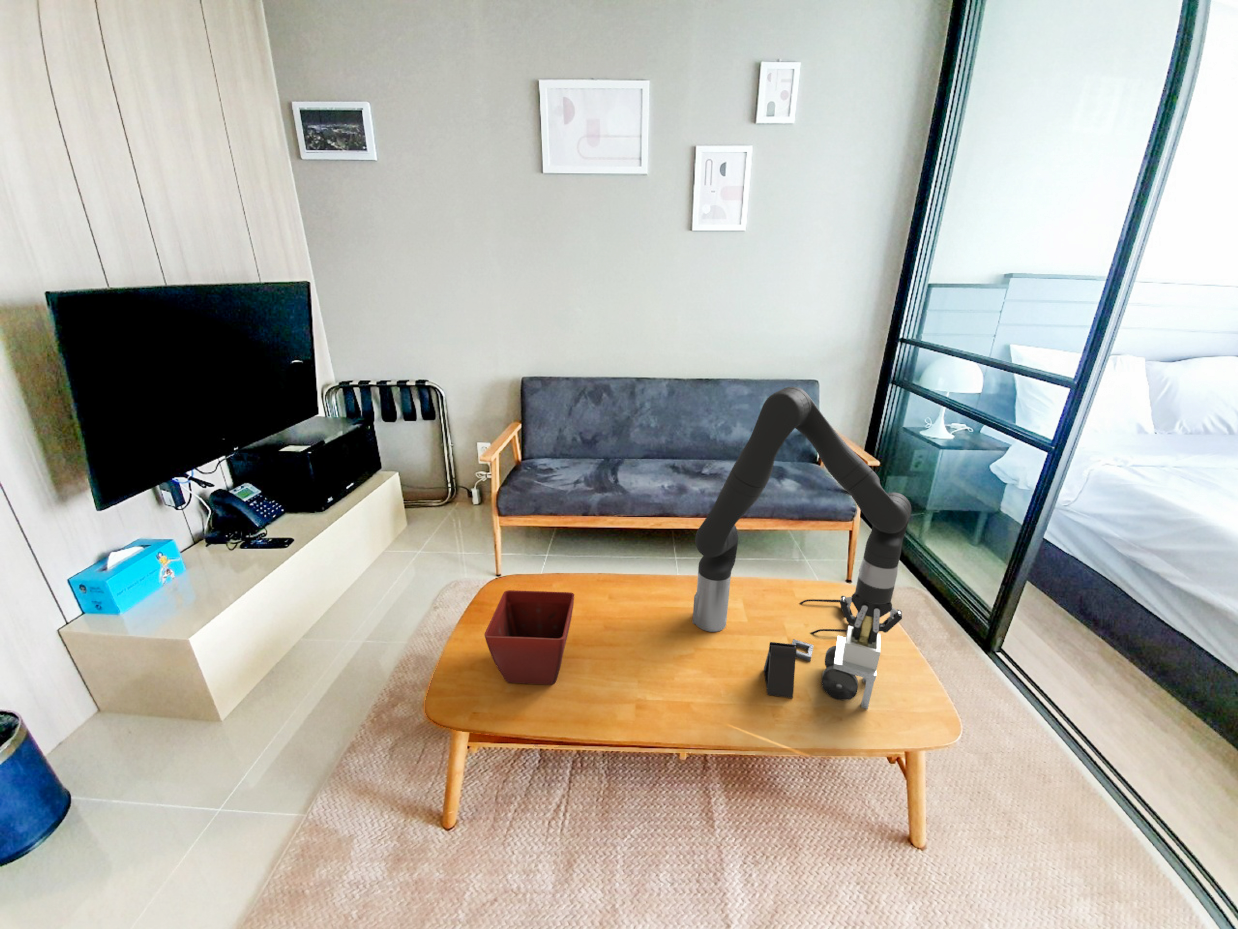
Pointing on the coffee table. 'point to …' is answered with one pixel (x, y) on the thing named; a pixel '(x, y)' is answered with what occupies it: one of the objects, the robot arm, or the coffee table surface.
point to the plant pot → (530, 635)
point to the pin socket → (804, 646)
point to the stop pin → (865, 631)
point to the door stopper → (780, 669)
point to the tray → (861, 651)
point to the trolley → (845, 675)
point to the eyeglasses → (827, 629)
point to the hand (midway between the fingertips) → (863, 639)
